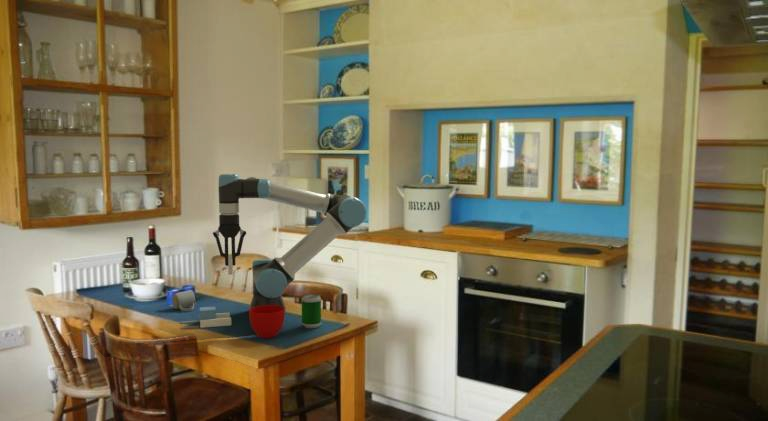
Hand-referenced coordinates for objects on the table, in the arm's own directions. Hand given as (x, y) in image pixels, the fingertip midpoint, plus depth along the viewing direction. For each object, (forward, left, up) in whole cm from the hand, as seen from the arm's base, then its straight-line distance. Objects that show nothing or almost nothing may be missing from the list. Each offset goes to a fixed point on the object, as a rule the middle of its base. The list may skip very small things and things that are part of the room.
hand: (230, 273), depth 248 cm
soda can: (-30, +12, -20) cm, 38 cm away
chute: (+10, 0, -20) cm, 23 cm away
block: (+9, 0, -19) cm, 21 cm away
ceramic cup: (-11, +18, -20) cm, 29 cm away
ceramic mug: (+17, -31, -20) cm, 41 cm away
